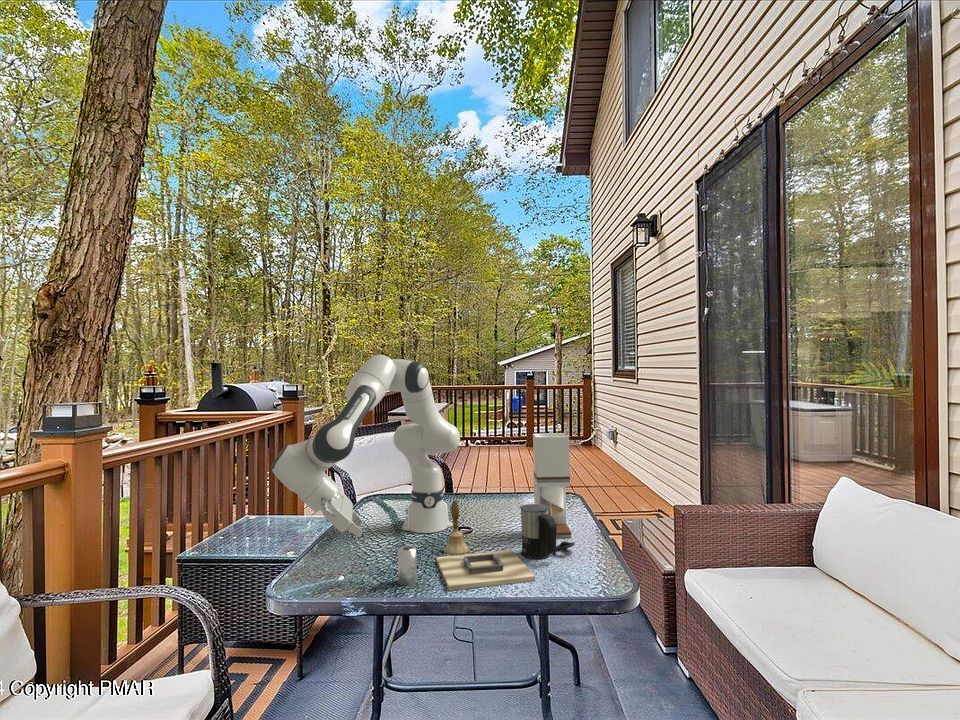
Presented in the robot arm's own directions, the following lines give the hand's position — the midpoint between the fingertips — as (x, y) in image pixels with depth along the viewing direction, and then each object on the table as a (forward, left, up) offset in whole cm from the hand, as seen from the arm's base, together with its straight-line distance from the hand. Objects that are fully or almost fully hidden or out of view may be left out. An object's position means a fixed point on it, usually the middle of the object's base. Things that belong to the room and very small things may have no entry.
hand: (361, 529), depth 135 cm
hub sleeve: (0, +12, -15) cm, 20 cm away
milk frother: (-10, +58, -16) cm, 60 cm away
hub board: (-2, +34, -15) cm, 38 cm away
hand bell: (-21, +30, -16) cm, 40 cm away
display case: (-28, +66, -16) cm, 74 cm away
